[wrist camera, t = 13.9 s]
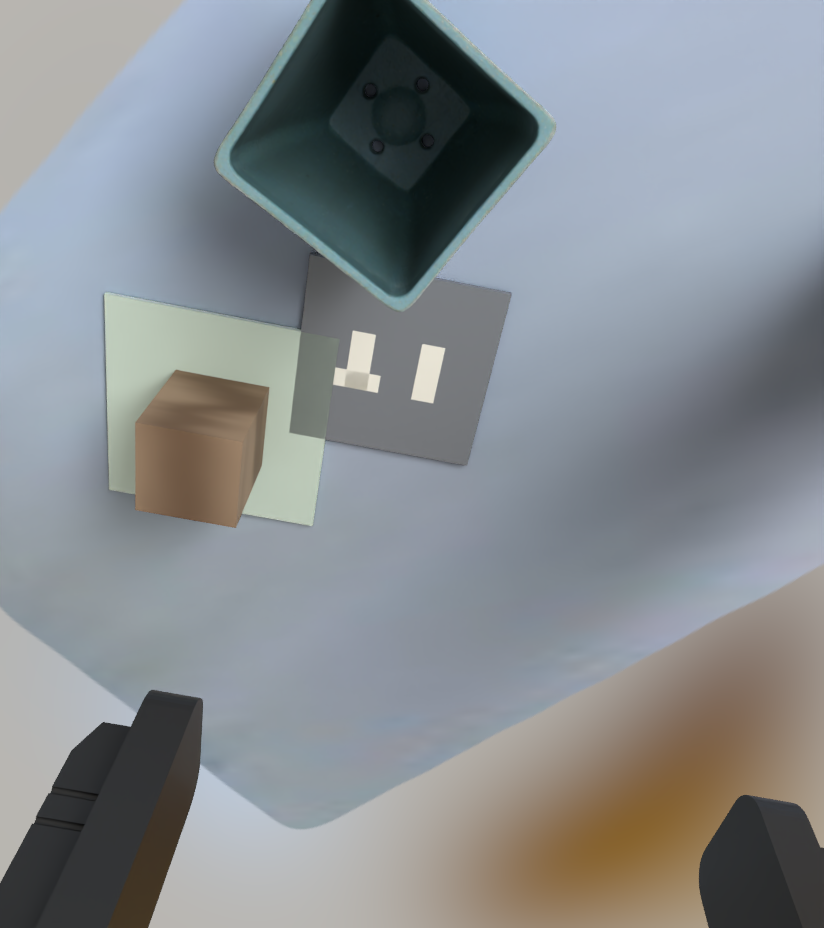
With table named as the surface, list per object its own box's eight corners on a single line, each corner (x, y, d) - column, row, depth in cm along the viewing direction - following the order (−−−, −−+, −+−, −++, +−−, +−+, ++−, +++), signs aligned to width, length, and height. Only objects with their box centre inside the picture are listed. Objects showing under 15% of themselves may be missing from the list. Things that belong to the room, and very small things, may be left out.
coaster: (340, 337, 39) (339, 339, 39) (313, 523, 46) (312, 526, 45) (106, 292, 39) (104, 293, 39) (111, 486, 45) (109, 489, 45)
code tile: (511, 292, 38) (511, 294, 38) (466, 462, 43) (466, 465, 43) (310, 253, 37) (309, 255, 37) (290, 430, 42) (288, 432, 42)
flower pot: (260, 131, 35) (204, 166, 27) (378, -53, 31) (353, -73, 23) (412, 254, 37) (401, 319, 29) (538, 98, 33) (564, 126, 26)
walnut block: (269, 387, 41) (242, 442, 36) (261, 465, 43) (235, 527, 38) (175, 369, 40) (135, 422, 35) (173, 449, 43) (135, 510, 38)
